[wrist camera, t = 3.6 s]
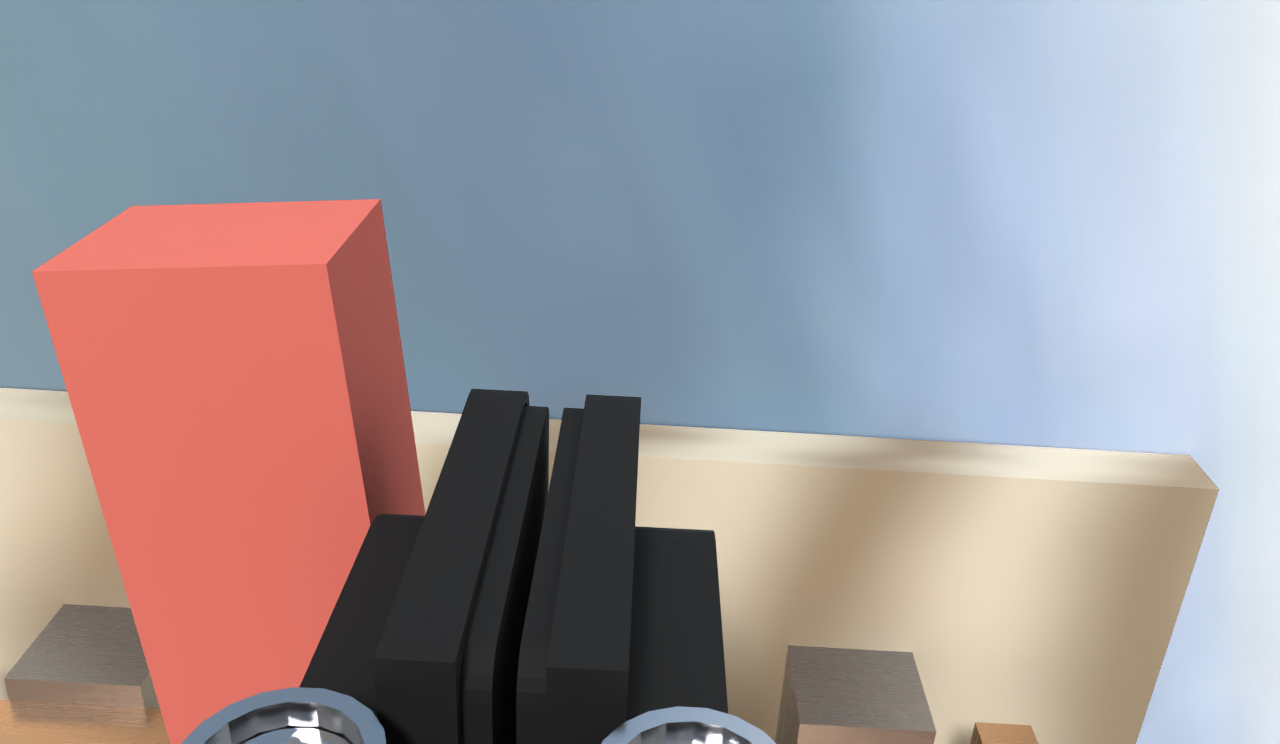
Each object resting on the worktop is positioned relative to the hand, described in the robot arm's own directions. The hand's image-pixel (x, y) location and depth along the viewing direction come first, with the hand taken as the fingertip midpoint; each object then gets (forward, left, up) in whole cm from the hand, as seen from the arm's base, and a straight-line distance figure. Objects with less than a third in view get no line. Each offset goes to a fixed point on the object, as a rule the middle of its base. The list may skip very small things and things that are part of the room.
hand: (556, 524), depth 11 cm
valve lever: (+2, +4, -1) cm, 5 cm away
